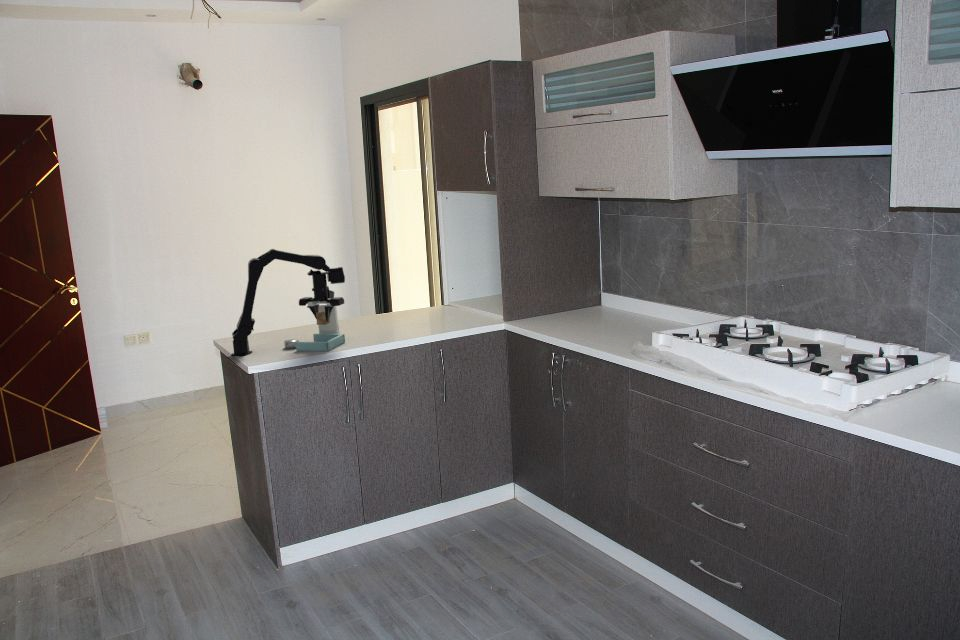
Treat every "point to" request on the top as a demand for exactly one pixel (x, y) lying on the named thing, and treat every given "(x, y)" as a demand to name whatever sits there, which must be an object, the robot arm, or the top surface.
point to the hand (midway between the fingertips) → (323, 321)
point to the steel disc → (290, 343)
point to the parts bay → (321, 342)
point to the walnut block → (321, 318)
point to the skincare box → (333, 325)
